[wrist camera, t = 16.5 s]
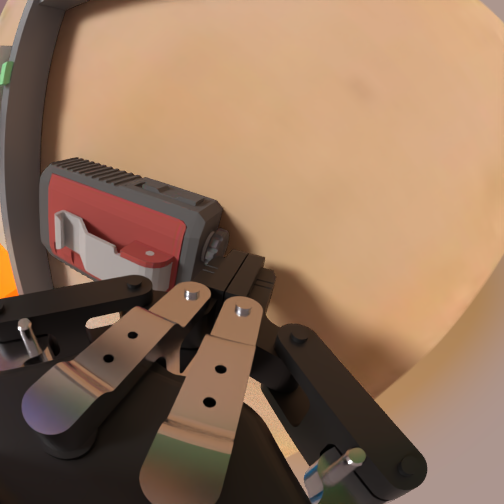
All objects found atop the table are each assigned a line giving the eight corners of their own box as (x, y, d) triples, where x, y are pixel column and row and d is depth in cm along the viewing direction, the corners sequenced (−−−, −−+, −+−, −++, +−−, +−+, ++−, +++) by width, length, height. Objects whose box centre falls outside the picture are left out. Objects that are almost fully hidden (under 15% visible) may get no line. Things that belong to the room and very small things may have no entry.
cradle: (148, 393, 22) (128, 424, 18) (64, 347, 24) (42, 369, 20) (182, -38, 8) (146, -68, 5) (60, 2, 10) (23, -6, 6)
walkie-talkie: (63, 257, 19) (303, 366, 17) (25, 282, 15) (296, 420, 13) (65, 149, 15) (369, 251, 13) (15, 160, 11) (386, 297, 9)
